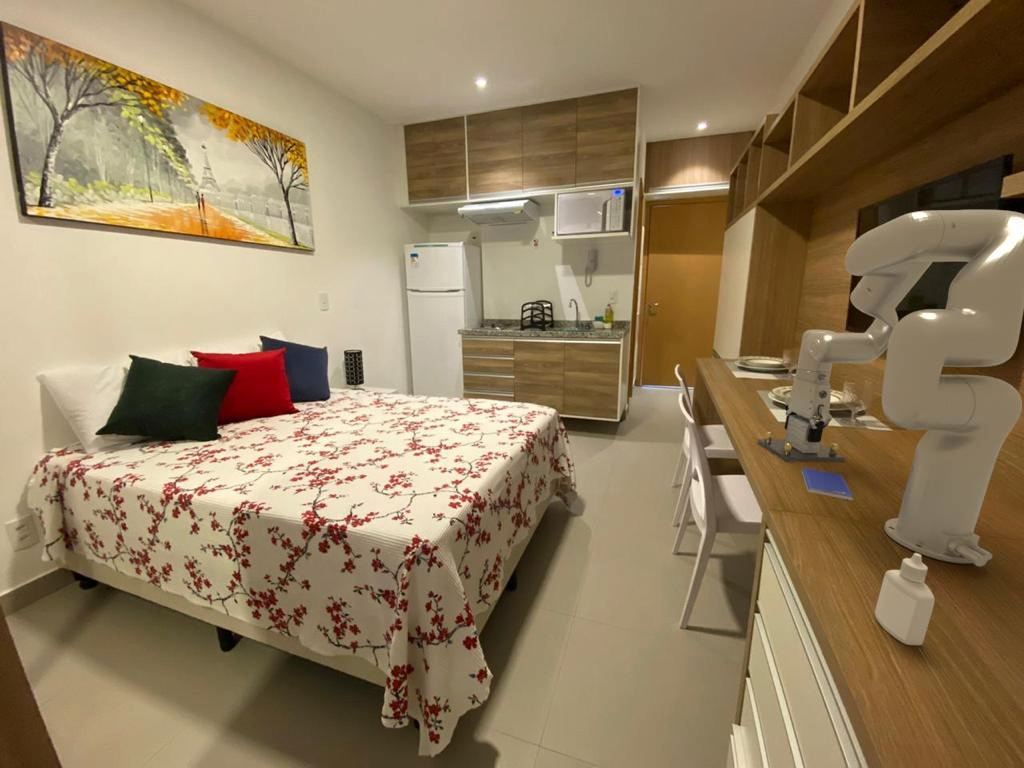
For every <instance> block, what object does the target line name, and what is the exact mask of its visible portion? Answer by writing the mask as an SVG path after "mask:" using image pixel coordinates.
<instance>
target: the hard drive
mask: <svg viewBox="0 0 1024 768" xmlns="http://www.w3.org/2000/svg"><path fill="white" fill-rule="evenodd" d="M801 473H802V476H803V480H804V484H805V486H806V487H805V488H806V489H807V492H808V493H812V494H816V495H821V496H822V495H824V496H826V497H833V498H838V499H842V500H847V499H848V501H852V500H854V496H853V494H852V492H851V490H850V489H849V487H848V485H847V482H846V480H845V479H844V477H843V475H842V474H840V473H835V472H829V471H823V470H819V469H813V468H806V467H802V468H801Z"/></svg>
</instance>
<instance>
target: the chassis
mask: <svg viewBox="0 0 1024 768" xmlns="http://www.w3.org/2000/svg"><path fill="white" fill-rule="evenodd" d="M756 442H757V444H758V445H760V446H761V447H763V448H764V449H765V450H766V451H767V450H768V451H769V452H770V453H772V454H773V455H775V456H776V457H778V458H779V459H780V460H782V461H784V462H825V463H826V462H829V463H830V462H834V463H836V462H837V461H840V462H841V461H845V460H846V457H845V456H843V455H841V454H840V453H838V449H839V447H840V446H839V443H837V442H831V444H830V448H829V447H827V446H825V445H823V444H821V443H820V445H819V451H818V453H802V452H800V451H799V450H797V449H795V448H793V447H792V444H791V443H788V442H786V443H785V438H783V439H781V438H780V439H779V438H777V439H776V438H773V431H769V430H768V431H766V433H765V437H764V438H758V439H757V441H756ZM845 462H846V461H845ZM841 463H842V462H841Z"/></svg>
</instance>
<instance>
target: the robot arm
mask: <svg viewBox="0 0 1024 768" xmlns="http://www.w3.org/2000/svg"><path fill="white" fill-rule="evenodd" d="M843 262H844V267H845V270H846V272H847V273H848V274H850V275H852V276H857V277H861V279H860V281H858V283H857V284H856V286H855V288H854V289H853V291H851V293H850V297H849V299H850V302H851V304H852V306H854V307H855V308H856V309H857V310H859V311H861V312H862V313H863V314H866V315H868V316H871V317H873V318H875V319H874V320H873V322H872V323H871V325H870V326H869V327H868V328H867V329H866V331H865V332H836V331H834V330H828V329H808V330H806V331H804V332H803V334H802V338H801V344H800V350H799V356H798V362H797V367H796V372H795V377H794V381H793V384H792V387H791V390H790V395H789V396H788V397H786V398H784V405H785V406H784V409H785V416H786V417H785V423H784V430H786V431H787V426H788V420H789V415H800V416H802V417H805V418H807V419H810V422H811V425H812V428H810V429H809V435H808V442H820V443H821V441H822V436H823V431H824V430H825V429H826V427H828V426H829V425H830V424H829V423H830V422H831V421H832V419H833V416H832V415H831V414H830V408H831V407H830V406H831V405H830V404H831V397H832V396H831V393H832V391H831V383H830V379H831V373H832V369H833V364H858V365H859V364H869V363H871V362H873V361H875V360H877V359H878V358H879V357H880V356H881V355H883V354H884V352H885V351H886V359H885V365H884V372H883V373H884V374H883V381H882V389H881V390H882V391H881V407H882V411H883V414H884V416H885V417H886V418H887V420H888V421H889V422H890V423H892V424H893V425H895V426H896V427H899V428H902V429H906V430H907V429H909V430H921V431H926V430H927V431H926V433H925V434H924V435H923V436H922V437H921V438H920V440H919V442H918V444H917V447H916V449H915V453H914V456H913V459H912V463H911V467H910V471H909V475H908V479H907V483H906V486H905V491H904V494H903V498H902V502H901V506H900V510H899V514H898V517H894V518H890V519H887V520H886V522H885V523H884V531H885V533H886V534H887V535H888V536H889V537H890V538H891V539H892V540H893V541H895V542H897V543H898V544H899V545H901V546H902V547H905V548H907V549H909V550H911V551H913V552H914V553H918V554H920V555H923V556H926V557H929V558H933V559H936V560H940V561H943V562H949V563H953V564H973V565H975V566H976V567H983V566H985V565H986V564H987V563H988V561H990V560H991V559H992V558H993V554H992V553H991V552H990V551H987V550H986V549H984V548H982V547H980V546H979V541H980V538H981V537H980V536H979V535H978V534H976V533H975V532H974V530H975V528H976V525H977V521H978V518H979V515H980V512H981V508H982V506H983V502H984V498H985V495H986V493H987V489H988V485H989V482H990V480H991V477H992V474H993V471H994V468H995V465H996V461H997V459H998V456H999V453H1000V451H1001V448H1002V446H1003V444H1004V443H1005V441H1006V439H1007V437H1008V436H1009V434H1010V433H1011V431H1012V430H1013V428H1014V427H1015V425H1016V424H1017V422H1018V420H1019V418H1020V417H1021V414H1022V409H1023V401H1022V397H1021V395H1020V392H1019V391H1018V390H1017V389H1016V388H1015V387H1014V386H1013V385H1011V384H1010V383H1009V382H1006V381H1005V380H1002V379H999V378H997V377H996V378H995V377H992V376H987V375H977V374H949V373H948V374H942V370H943V367H951V368H952V367H953V368H984V367H986V368H987V367H994V366H998V365H1001V364H1004V363H1005V362H1007V361H1009V360H1010V359H1011V358H1012V357H1013V355H1014V354H1015V352H1016V349H1017V347H1018V343H1019V339H1020V334H1021V327H1022V321H1023V316H1024V213H1022V212H1018V211H1011V210H1003V209H1001V210H1000V209H957V210H956V209H955V210H954V209H952V210H951V209H950V210H949V209H948V210H947V209H946V210H945V209H944V210H943V209H942V210H940V209H939V210H934V209H933V210H920V211H913V212H908V213H905V214H903V215H900V216H898V217H896V218H894V219H891V220H890V221H887V222H886V223H884V224H881V225H879V226H876V227H875V228H872V229H871V230H868V231H867V232H865V233H863V234H861V235H860V236H859V237H857V238H856V240H855V241H854V242H852V244H851V245H850V246H849V248H848V249H847V251H846V254H845V256H844V261H843ZM933 262H934V263H938V262H939V263H944V262H945V263H946V262H948V263H949V262H966V264H965V265H964V266H963V267H962V268H961V269H960V270H959V271H958V273H957V274H956V275H955V277H954V278H953V280H952V281H951V283H950V284H949V288H948V296H947V301H946V306H945V309H944V308H942V309H941V308H937V309H936V308H935V309H934V308H931V309H930V308H928V309H921V310H917V311H916V310H915V311H913V312H911V313H909V314H907V315H905V316H904V317H902V318H901V319H900V320H899V317H898V313H897V310H896V308H897V307H898V305H899V304H900V303H902V301H903V299H904V298H905V297H906V296H907V294H908V293H909V292H910V291H911V289H912V288H913V287H914V286H915V285H916V284H917V282H918V281H919V280H920V279H921V278H922V276H923V275H924V273H925V272H926V271H927V270H928V268H929V267H930V266H931V265H932V263H933ZM815 420H816V421H818V423H816V421H815Z"/></svg>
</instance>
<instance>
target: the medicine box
mask: <svg viewBox="0 0 1024 768" xmlns="http://www.w3.org/2000/svg"><path fill="white" fill-rule="evenodd" d="M815 421H816V423H818V420H815ZM810 428H812V425H811V422H810V419H807V418H805V417H802V416H800V415H789V420H788V426H787V430H786V432H785V433H786V434H785V438H784V439H785V443H786V442H788V443H791V444H792V447H793V448H795V449H797V450H799V451H800V452H802V453H818V451H819V445H820V444H821V441H820V442H808V435H809V429H810Z"/></svg>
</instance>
